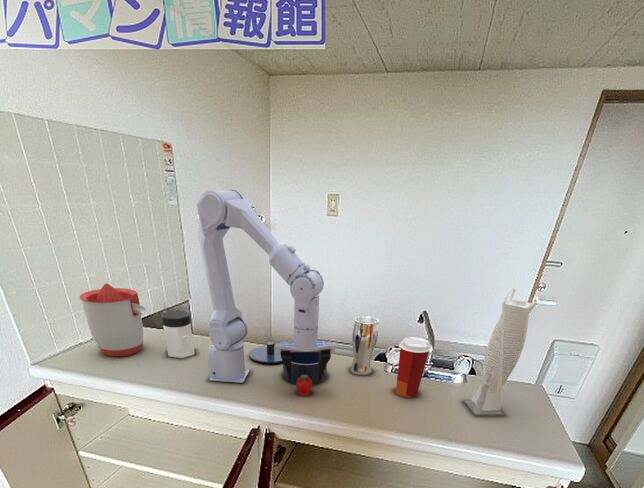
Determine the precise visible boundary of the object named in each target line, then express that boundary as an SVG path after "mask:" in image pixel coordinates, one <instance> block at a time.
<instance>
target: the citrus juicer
mask: <svg viewBox="0 0 644 488" xmlns="http://www.w3.org/2000/svg"><path fill="white" fill-rule="evenodd" d="M79 300H80V301H81V303H82V304H81V305H82V307H83V310H84V314H85V319H86V321H87V326H88V328H89V331H90V334H91V336H92V338H93V341H94V342H95V344H96V345H97V347H98V349H99V350H100V351H101V352H102V354H103V355H106V356H109V357H124V356H132V355H134V354H136V353H138V352H140V351H141V350H142V347H143V343H144V326H143V319H142V316H144V315H146V314H147V309H146V308H145V306H143V305H141V303H140V298H139V293H138V291H136V290H134V289H131V288H125V287H123V288H122V287H114V286H112V285H111V284H109V283H108V282H107V283H106V282H105V283H104V284H103V285H102V287H101V288H98V289H93V290H89V291H85V292H83V293H81V294H79Z"/></svg>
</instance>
